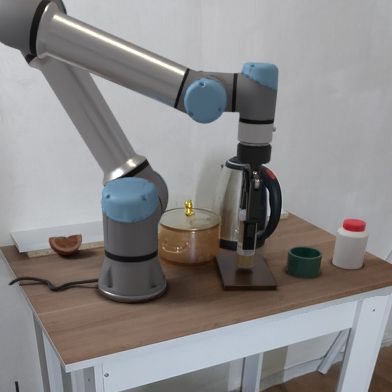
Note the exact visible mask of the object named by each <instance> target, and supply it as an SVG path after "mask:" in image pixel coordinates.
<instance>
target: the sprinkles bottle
mask: <svg viewBox="0 0 392 392" xmlns="http://www.w3.org/2000/svg"><path fill="white" fill-rule="evenodd" d="M245 220H246V209H244V210H241V209H240V211H239V212H238V232H237V233H238V234H237V243H236V244H237V245H236V253H237V258H236V266H237V267H239V268H252V267H253V266H254V254H256V246H257V245H256V244H257V232H258V223H256V234H255V245H254V250H242V244H243V231H244V223H242V221H245Z"/></svg>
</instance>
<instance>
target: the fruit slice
mask: <svg viewBox="0 0 392 392" xmlns="http://www.w3.org/2000/svg"><path fill="white" fill-rule="evenodd" d="M82 243H83V236H82V234H71V235H69V236H67V237H66V236H51V237H48V245H49V247H50V248H51V250H52V251H53V252H54V253H56V254H58V255H61V256H69V255H73V254H75V253H77V251H78V250H79V249H80V247H81V246H82Z"/></svg>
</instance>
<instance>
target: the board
mask: <svg viewBox="0 0 392 392" xmlns="http://www.w3.org/2000/svg"><path fill="white" fill-rule="evenodd" d="M214 258H215V262H216V265H217V269H218V272H219V276H220V279H221V282H222V286H223V289H224V291H276V290H277V287H278V285H277V283H276V281H275V279H274V277H273V275H272V273H271V271H270V268H269V267H268V264H267V263H266V261H265V258H264V257H263V255H262V253H255V254H254V266H253V267H252V268H239V267H237V266H236V258H237V252H236V253H235V252H233V253H231V252H229V253H226V252H225V253H223V252H222V253H221V252H219V253H217V252H216V255H215V254H214Z"/></svg>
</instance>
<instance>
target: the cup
mask: <svg viewBox="0 0 392 392" xmlns="http://www.w3.org/2000/svg"><path fill="white" fill-rule="evenodd" d="M323 254H324V253H323V252H322V250H319V249H317V248H315V247H311V246H302V245H301V246H299V245H298V246H292V247H290V248H289V249H288V251H287V258H286V265H285V271H286V272H287V274H289V275H290V276H292V277H297V278H302V279H311V278H317V277H318V276H319V275H320V273H321V267H322V260H323Z"/></svg>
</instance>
